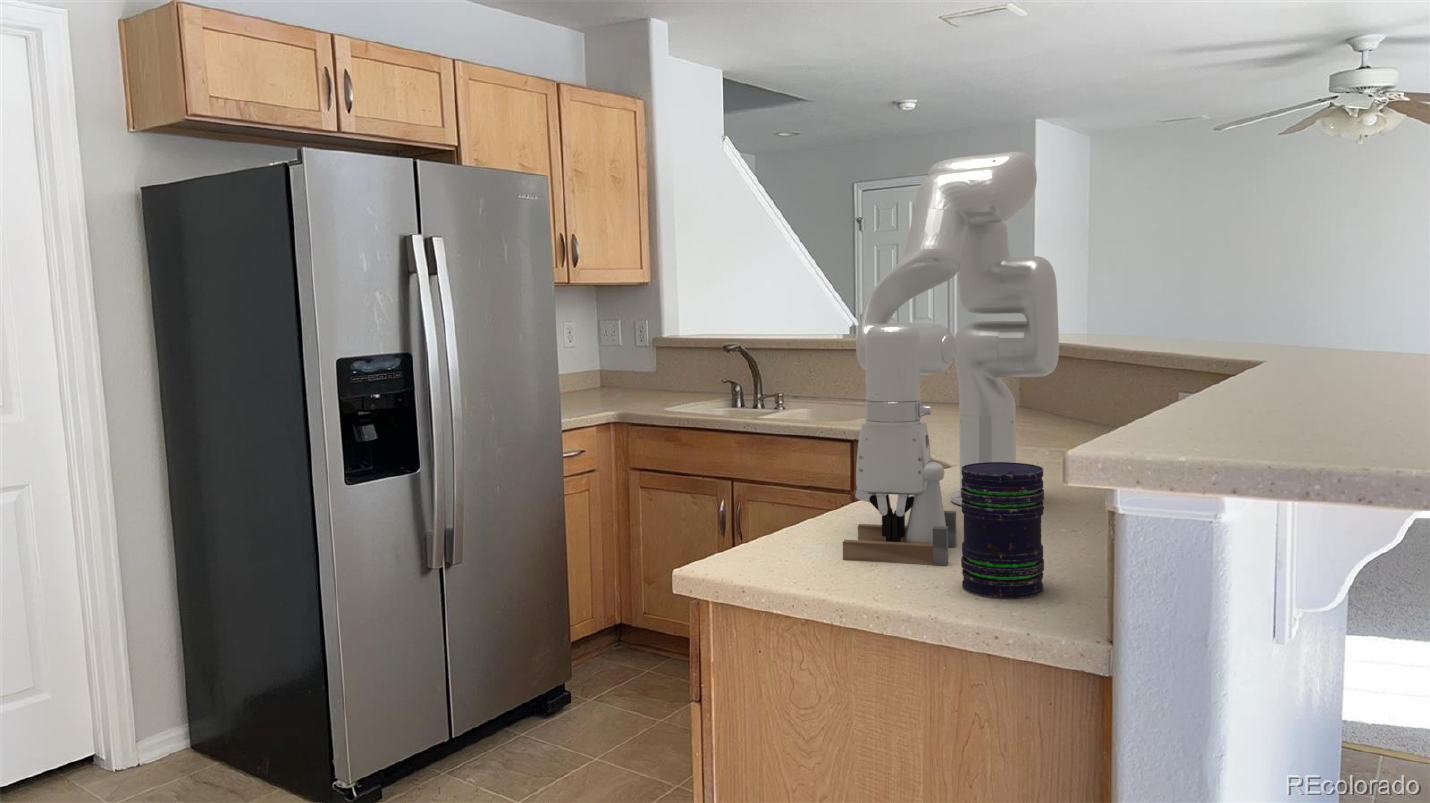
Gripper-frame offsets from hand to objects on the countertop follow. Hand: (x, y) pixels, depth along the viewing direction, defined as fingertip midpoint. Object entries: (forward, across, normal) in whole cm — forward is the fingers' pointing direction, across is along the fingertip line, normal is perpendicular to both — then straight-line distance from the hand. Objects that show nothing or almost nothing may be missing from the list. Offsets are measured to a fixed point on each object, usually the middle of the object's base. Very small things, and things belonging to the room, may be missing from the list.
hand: (893, 541), depth 143 cm
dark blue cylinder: (+2, -16, +14) cm, 21 cm away
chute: (+2, -1, -1) cm, 2 cm away
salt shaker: (+2, -4, 0) cm, 5 cm away
